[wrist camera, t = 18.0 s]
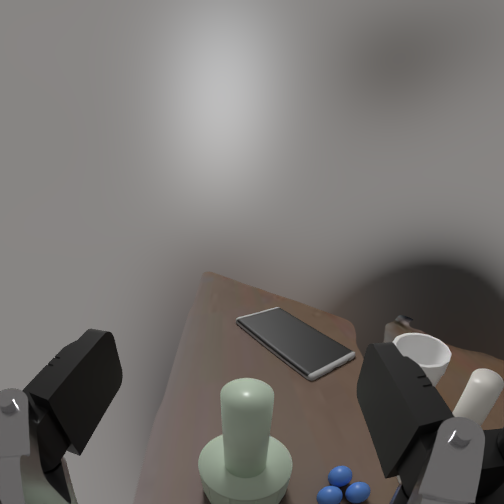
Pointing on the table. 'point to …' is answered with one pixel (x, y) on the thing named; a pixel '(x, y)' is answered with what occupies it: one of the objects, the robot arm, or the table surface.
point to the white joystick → (478, 396)
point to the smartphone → (295, 342)
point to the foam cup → (425, 353)
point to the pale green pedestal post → (245, 449)
